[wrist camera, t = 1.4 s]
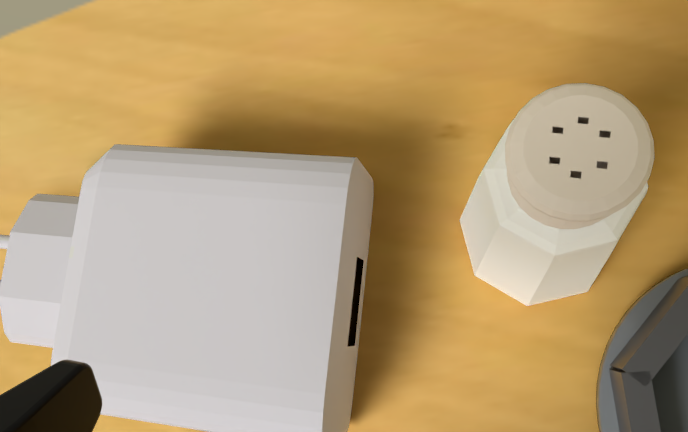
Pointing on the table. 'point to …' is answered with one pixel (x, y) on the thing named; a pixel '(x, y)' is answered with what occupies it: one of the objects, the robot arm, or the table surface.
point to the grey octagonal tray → (648, 364)
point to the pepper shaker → (558, 193)
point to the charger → (200, 285)
